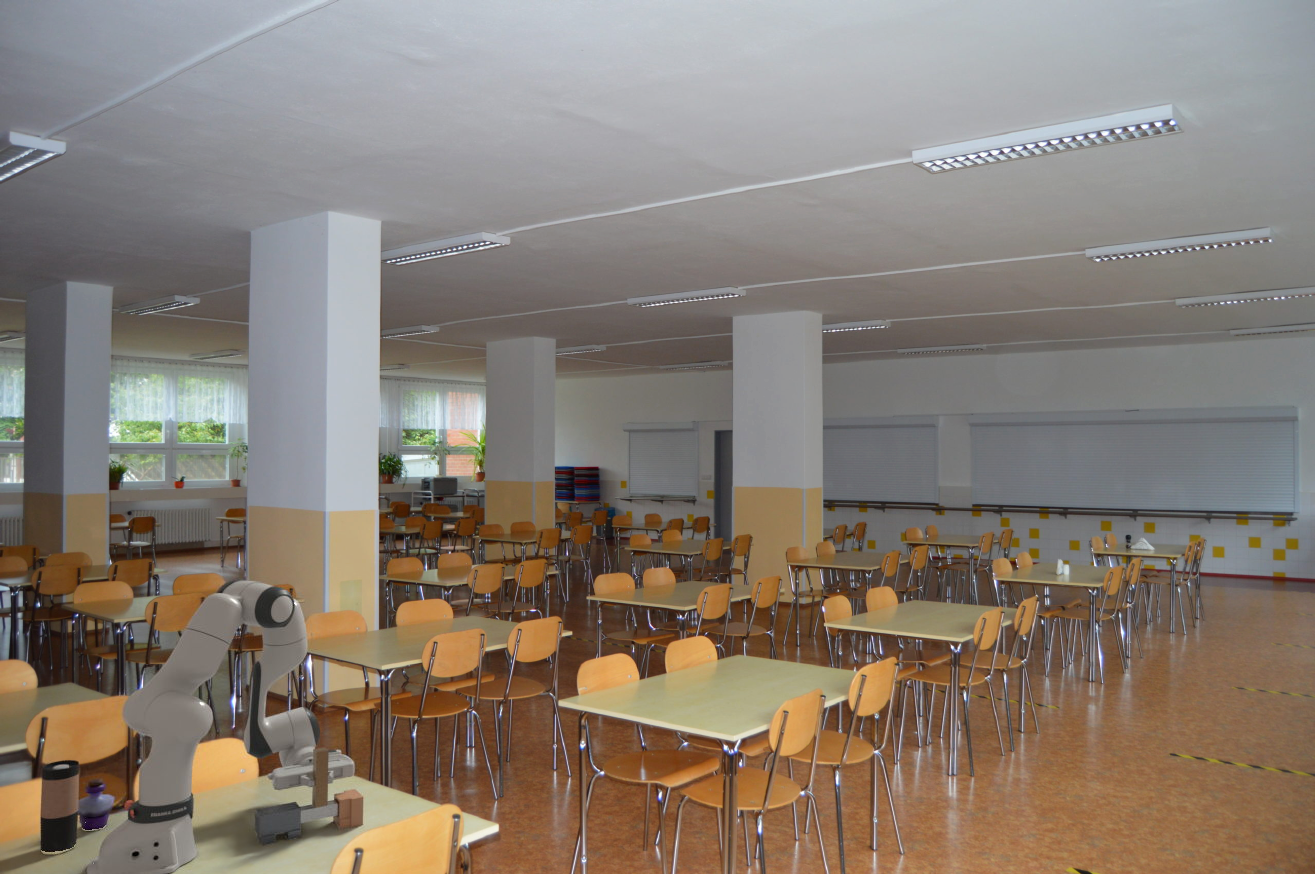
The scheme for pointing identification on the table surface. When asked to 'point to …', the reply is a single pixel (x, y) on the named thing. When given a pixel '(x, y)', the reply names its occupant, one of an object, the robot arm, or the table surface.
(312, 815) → the upright mallet
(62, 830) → the travel mug
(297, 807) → the sleeve
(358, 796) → the socket block
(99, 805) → the potion bottle
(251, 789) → the table surface
